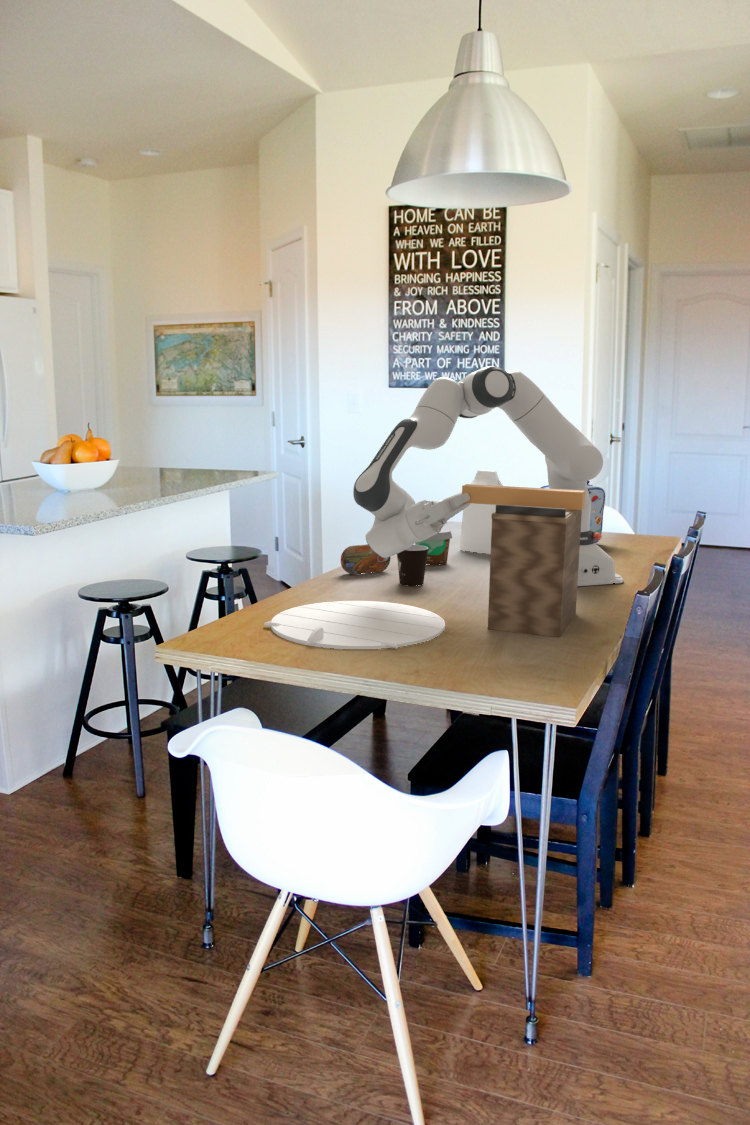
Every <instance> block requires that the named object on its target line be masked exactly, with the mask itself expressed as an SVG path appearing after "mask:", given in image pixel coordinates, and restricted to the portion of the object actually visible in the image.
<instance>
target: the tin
mask: <svg viewBox="0 0 750 1125" xmlns="http://www.w3.org/2000/svg"><path fill="white" fill-rule="evenodd" d="M340 555H341V556H340V565H341V568H342V569H343V571H344V572H346V573H348V574H349V575H353V576H355V575H354V574H361V573H371V572H372V573H371V574H374V573H373V572H380V573H383V572H384V571H385V570H386V569H387V568H388V567H389V566H390V562H391V556H390V557H385V558H382V557H380V556H378V555H377V554H376V553H374V552H373V551H372V549H371V548H370V547H369V545H368V544H358V545H350V546H348V547H346V548H344V550H343V551H342V553H341V554H340Z"/></svg>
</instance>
